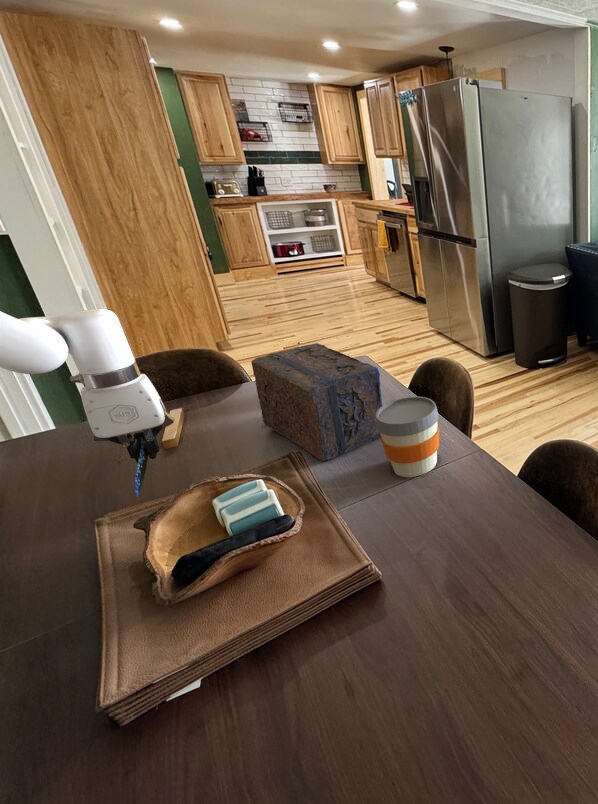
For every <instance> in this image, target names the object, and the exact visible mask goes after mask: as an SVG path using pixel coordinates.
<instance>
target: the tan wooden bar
mask: <svg viewBox="0 0 598 804" xmlns="http://www.w3.org/2000/svg"><path fill="white" fill-rule="evenodd" d="M168 414H169V415H171V416H172V417H173V418H174V423H173V424H171V425H169V426H167V427H166V428H164V431H163V432H164V433H163V435H162V439H161V443H162V445H163V448H164V450H167V449H171V448H176V447H179V443H180V438H181V434H182V429H183V423H184V420H185V412H184V409H183V407H179V408H175V409H174V408H173V409H170V411H169V413H168Z"/></svg>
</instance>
